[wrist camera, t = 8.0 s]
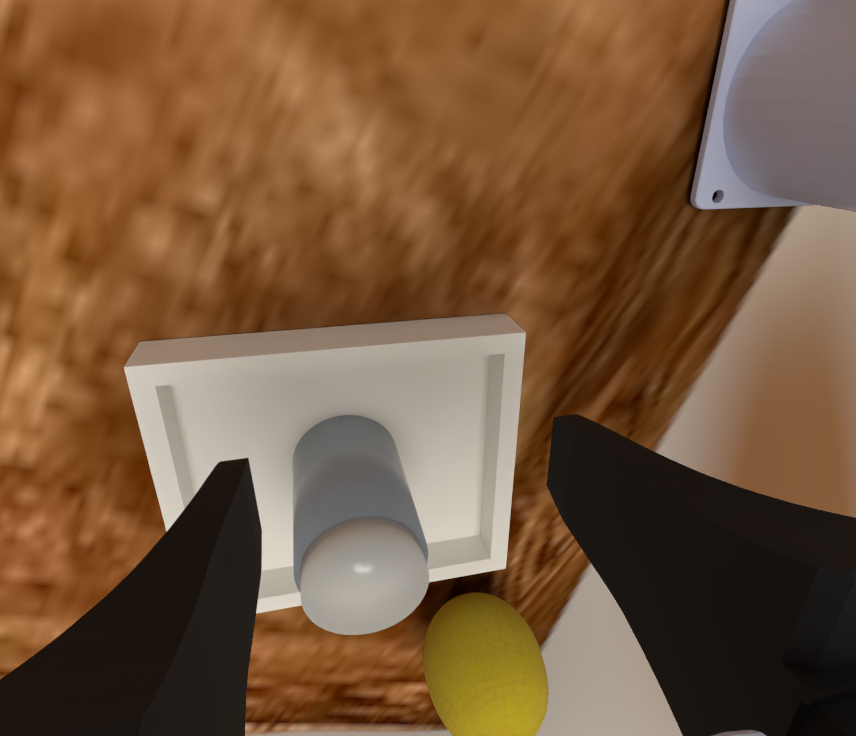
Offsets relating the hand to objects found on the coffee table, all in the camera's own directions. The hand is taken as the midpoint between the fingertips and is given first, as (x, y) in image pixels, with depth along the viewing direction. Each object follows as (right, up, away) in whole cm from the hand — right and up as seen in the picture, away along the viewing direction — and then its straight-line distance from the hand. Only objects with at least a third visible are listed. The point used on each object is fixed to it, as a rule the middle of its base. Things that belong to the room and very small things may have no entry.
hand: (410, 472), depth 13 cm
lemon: (+2, -10, +17) cm, 19 cm away
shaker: (-3, -1, +10) cm, 11 cm away
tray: (-3, -1, +11) cm, 12 cm away
